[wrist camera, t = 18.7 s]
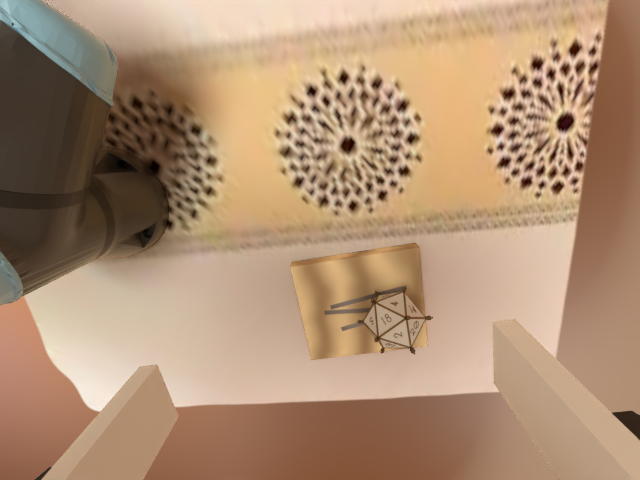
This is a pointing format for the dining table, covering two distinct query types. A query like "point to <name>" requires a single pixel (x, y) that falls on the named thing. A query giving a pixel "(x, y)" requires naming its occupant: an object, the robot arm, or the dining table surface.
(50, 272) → the robot arm
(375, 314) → the game die
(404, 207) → the dining table surface
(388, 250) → the board
